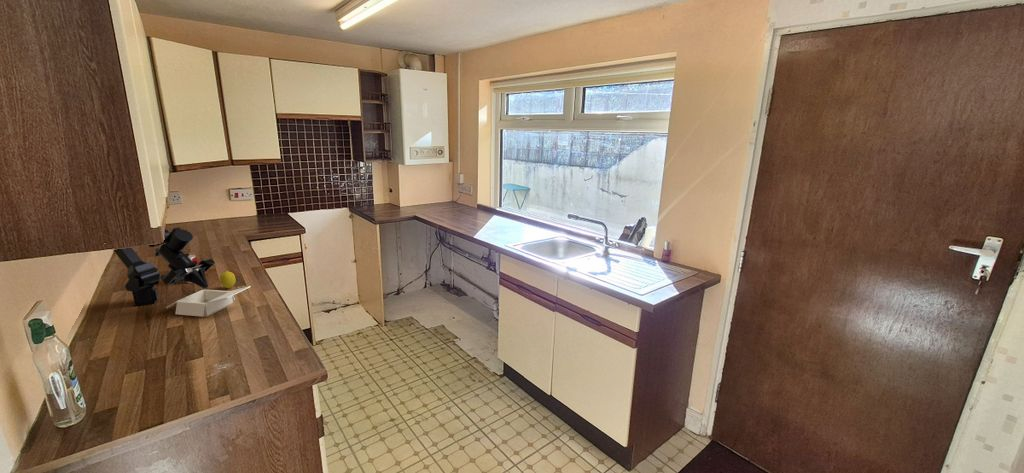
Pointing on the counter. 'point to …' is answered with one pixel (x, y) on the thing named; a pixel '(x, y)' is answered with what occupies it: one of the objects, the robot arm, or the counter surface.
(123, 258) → the robot arm
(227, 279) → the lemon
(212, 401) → the counter surface
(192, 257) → the soda can
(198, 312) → the carton
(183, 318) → the counter surface
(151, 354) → the counter surface
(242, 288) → the carton flap
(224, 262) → the counter surface
